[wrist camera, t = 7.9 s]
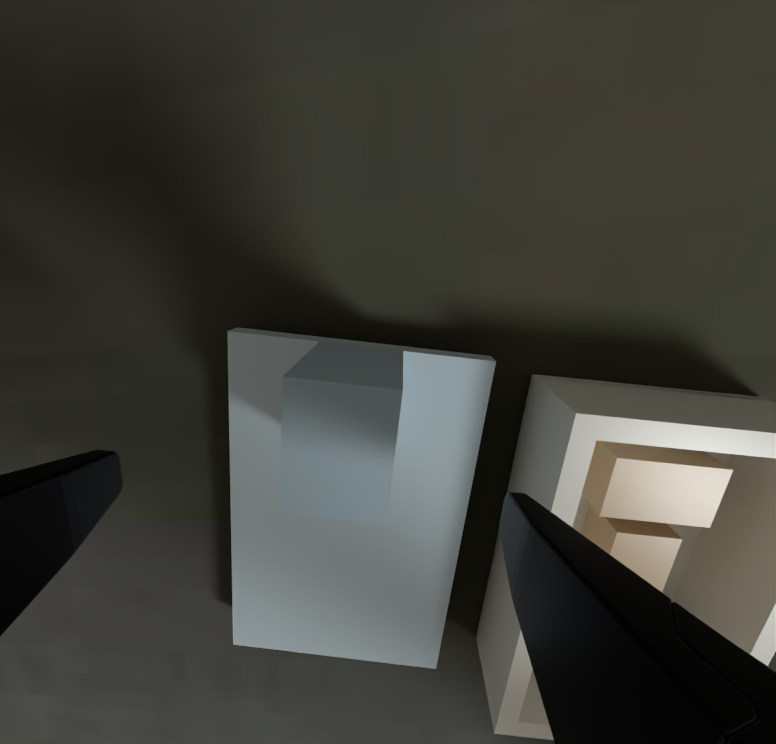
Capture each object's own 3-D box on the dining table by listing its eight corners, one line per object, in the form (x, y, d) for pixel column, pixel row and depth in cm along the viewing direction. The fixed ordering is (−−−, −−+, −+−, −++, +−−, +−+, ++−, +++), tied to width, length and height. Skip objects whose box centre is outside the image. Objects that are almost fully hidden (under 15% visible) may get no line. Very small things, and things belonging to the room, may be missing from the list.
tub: (654, 656, 19) (719, 758, 15) (475, 637, 19) (494, 733, 15) (759, 396, 15) (884, 444, 11) (531, 374, 15) (576, 412, 11)
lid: (433, 632, 19) (445, 790, 13) (248, 610, 19) (182, 757, 14) (485, 349, 15) (536, 405, 9) (247, 323, 15) (150, 361, 9)
